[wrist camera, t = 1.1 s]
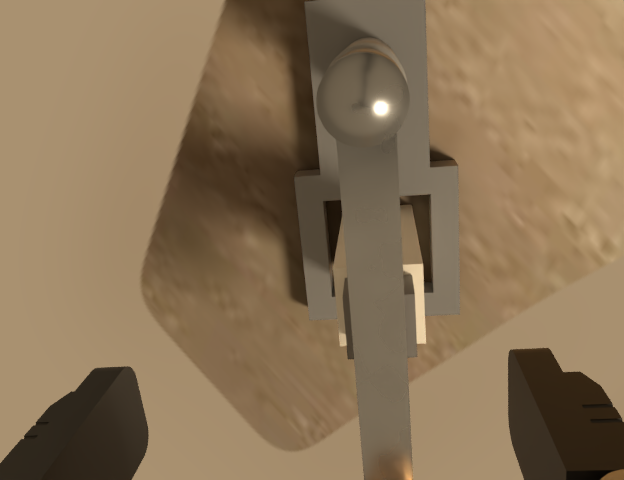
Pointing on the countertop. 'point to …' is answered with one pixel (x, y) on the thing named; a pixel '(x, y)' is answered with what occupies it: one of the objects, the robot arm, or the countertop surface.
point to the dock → (410, 145)
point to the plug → (411, 286)
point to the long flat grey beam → (373, 247)
